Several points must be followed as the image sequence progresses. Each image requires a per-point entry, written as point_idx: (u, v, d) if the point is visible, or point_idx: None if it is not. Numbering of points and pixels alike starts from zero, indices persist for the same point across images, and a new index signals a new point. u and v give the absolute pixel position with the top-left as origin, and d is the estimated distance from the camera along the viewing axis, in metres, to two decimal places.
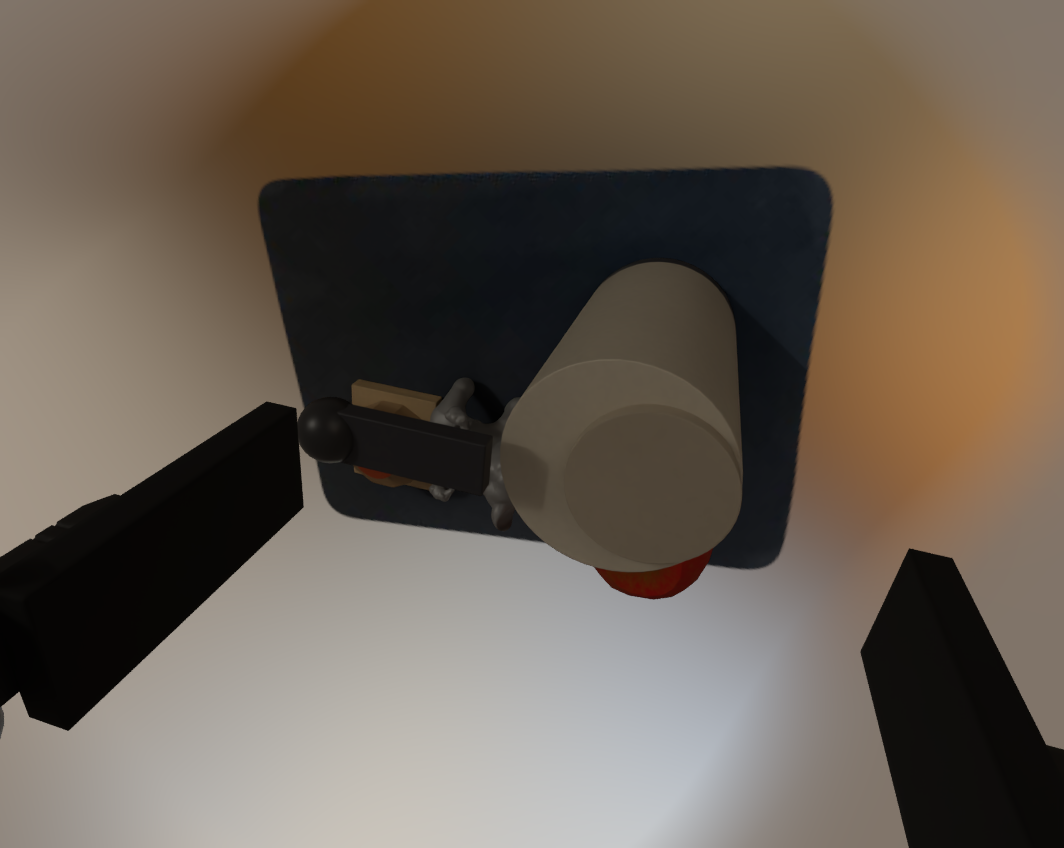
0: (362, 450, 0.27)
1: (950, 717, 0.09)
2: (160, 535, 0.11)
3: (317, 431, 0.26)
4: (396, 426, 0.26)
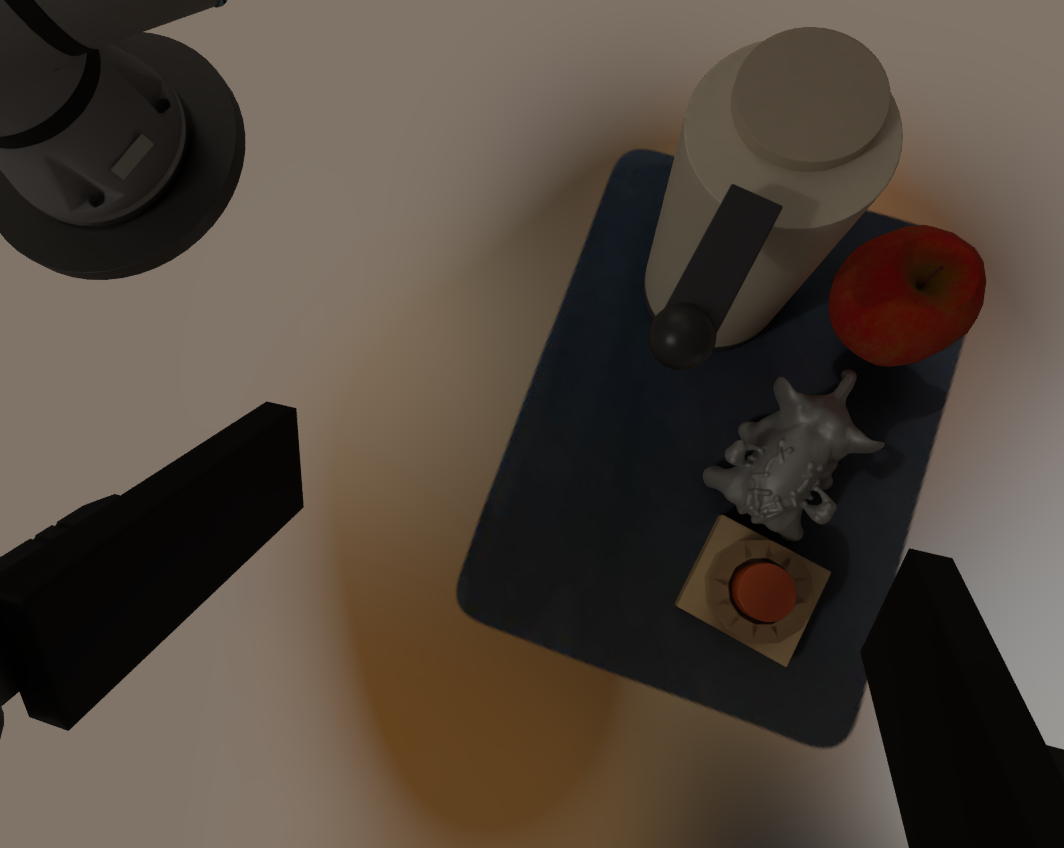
0: (708, 301, 0.27)
1: (950, 717, 0.09)
2: (160, 535, 0.11)
3: (675, 317, 0.26)
4: (693, 256, 0.27)
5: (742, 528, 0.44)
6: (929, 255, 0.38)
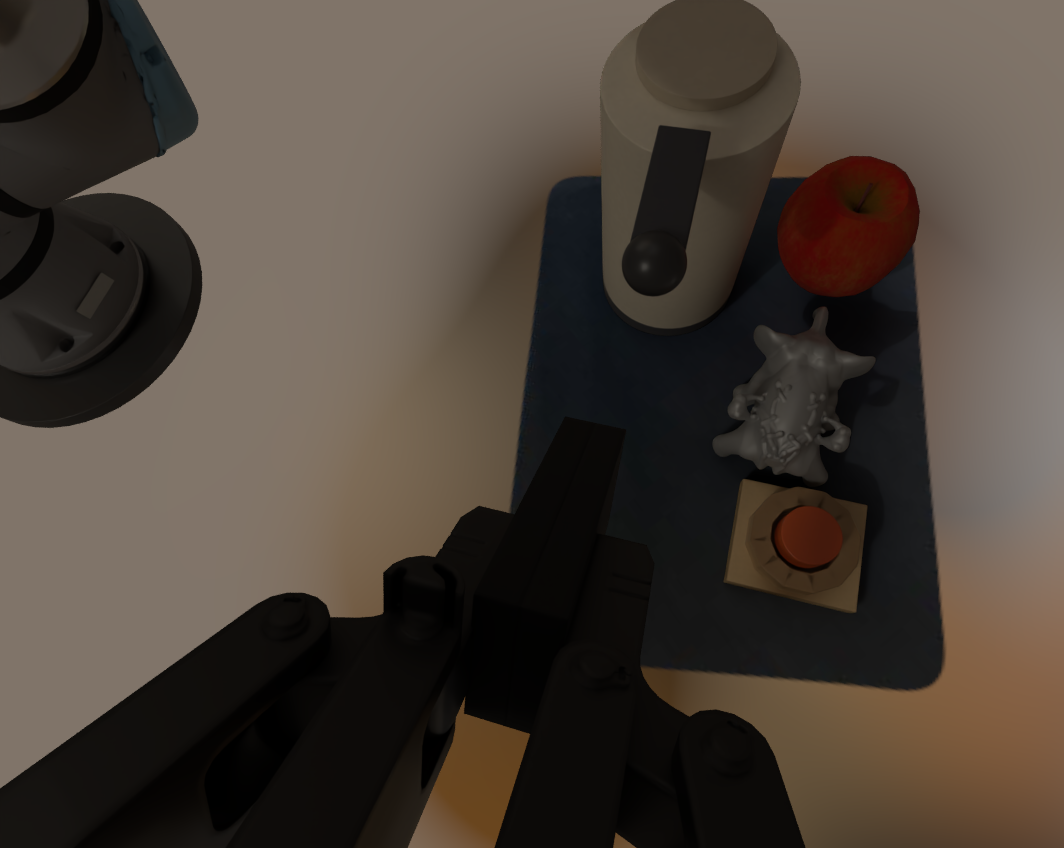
0: (669, 224, 0.28)
1: None
2: None
3: (643, 241, 0.27)
4: (643, 191, 0.29)
5: (767, 486, 0.44)
6: (856, 180, 0.41)
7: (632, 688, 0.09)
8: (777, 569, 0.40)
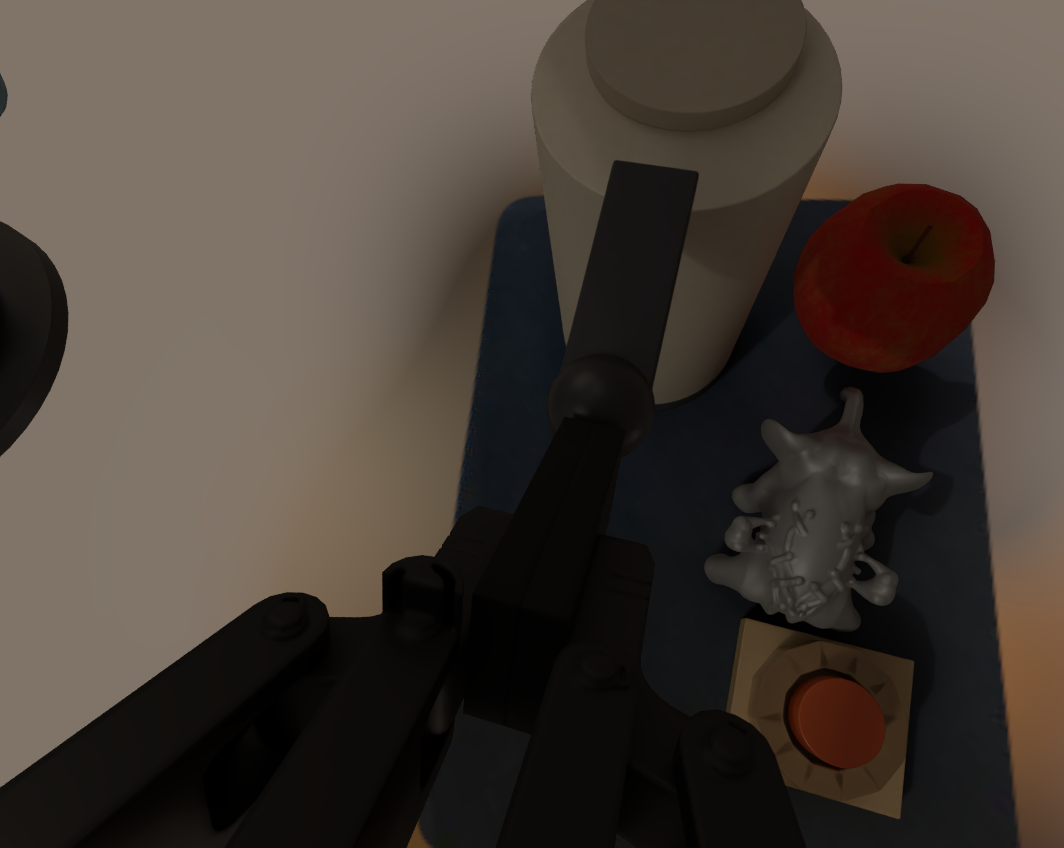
0: (625, 342, 0.17)
1: None
2: None
3: (577, 383, 0.16)
4: (584, 280, 0.17)
5: (777, 630, 0.32)
6: (906, 218, 0.29)
7: (633, 688, 0.09)
8: (792, 763, 0.29)
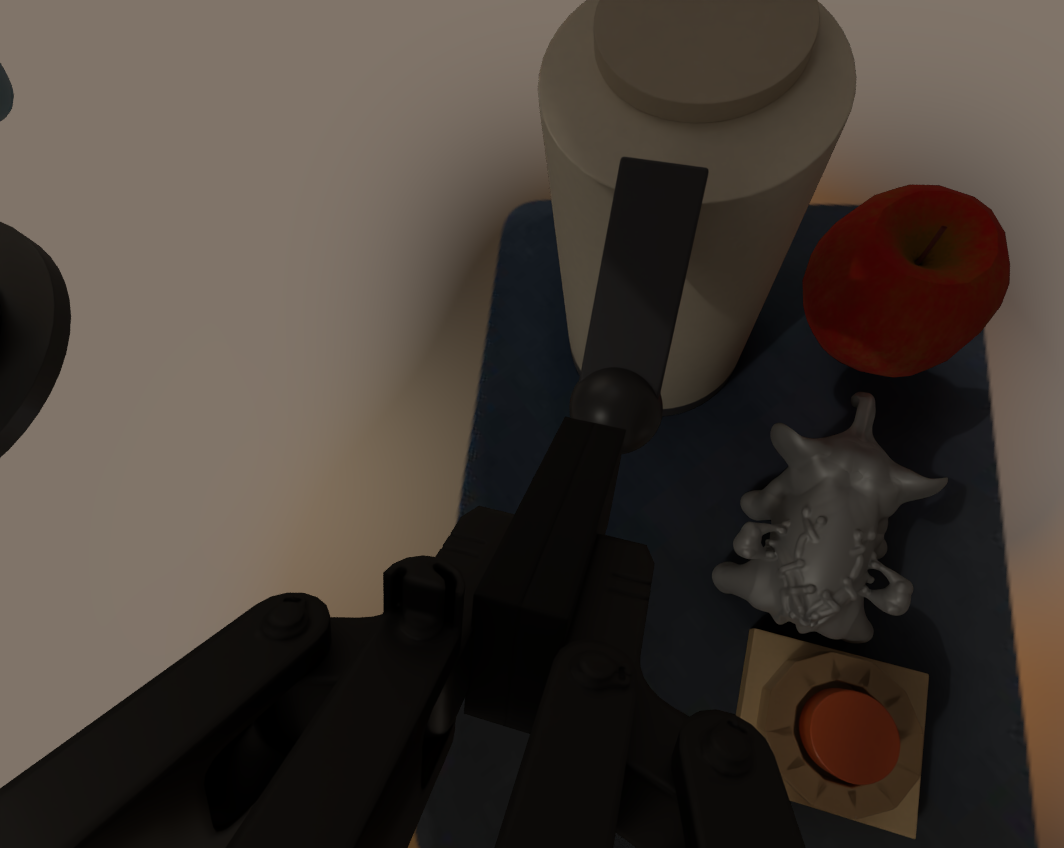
0: (635, 356, 0.19)
1: None
2: None
3: (592, 407, 0.18)
4: (596, 295, 0.19)
5: (787, 641, 0.31)
6: (919, 219, 0.29)
7: (632, 688, 0.09)
8: (803, 779, 0.28)
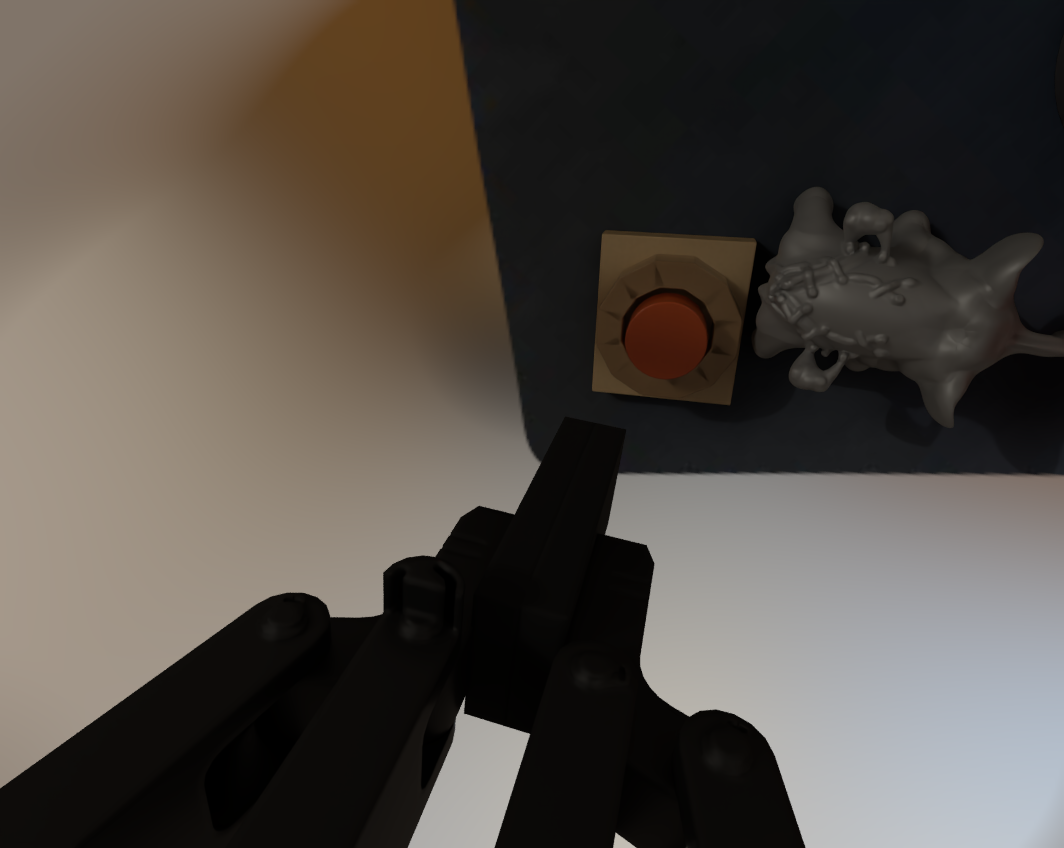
0: None
1: None
2: None
3: None
4: None
5: (746, 277, 0.30)
6: None
7: (632, 688, 0.09)
8: (619, 299, 0.30)
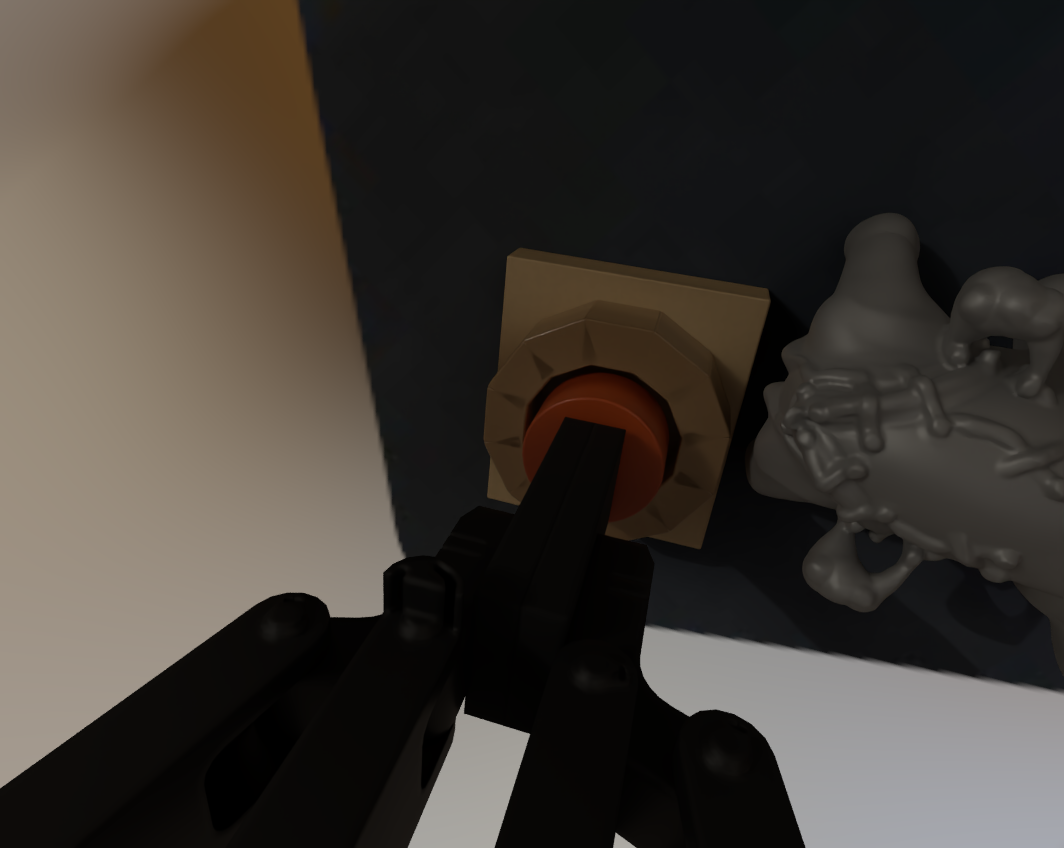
0: None
1: None
2: None
3: None
4: None
5: (746, 357, 0.17)
6: None
7: (632, 688, 0.09)
8: (521, 376, 0.17)
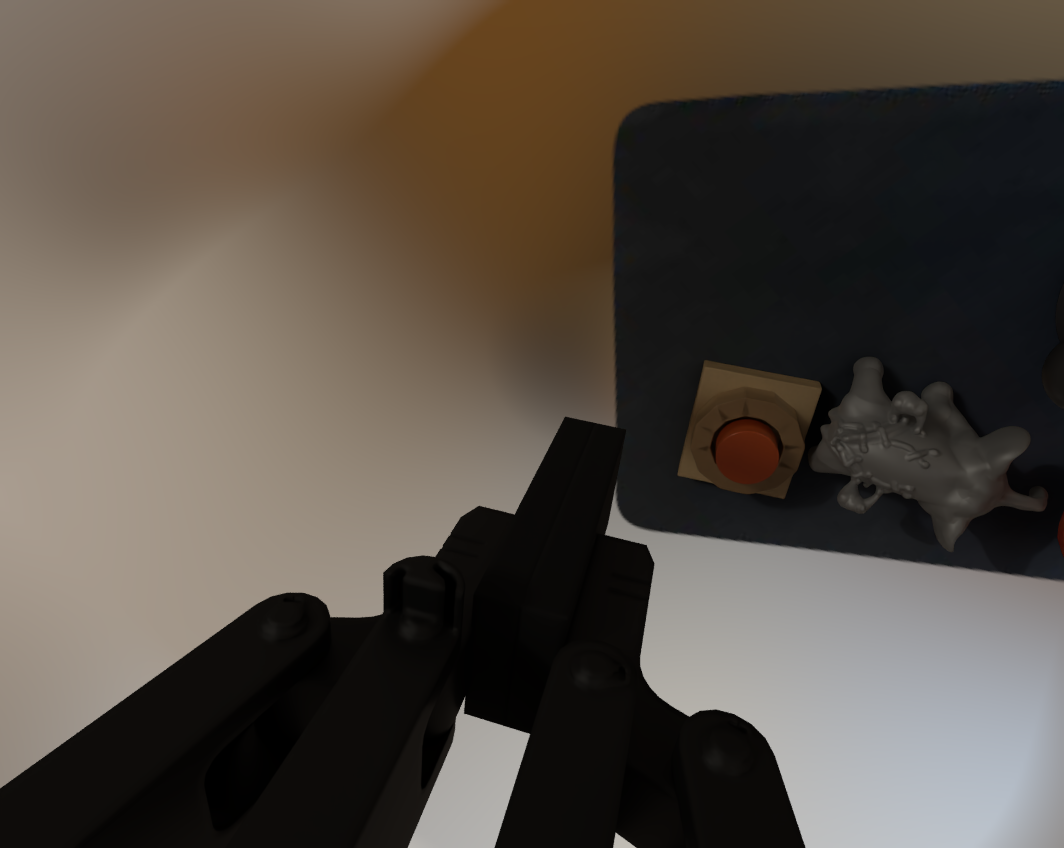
0: None
1: None
2: None
3: None
4: None
5: (810, 412, 0.39)
6: None
7: (632, 688, 0.09)
8: (713, 420, 0.39)
